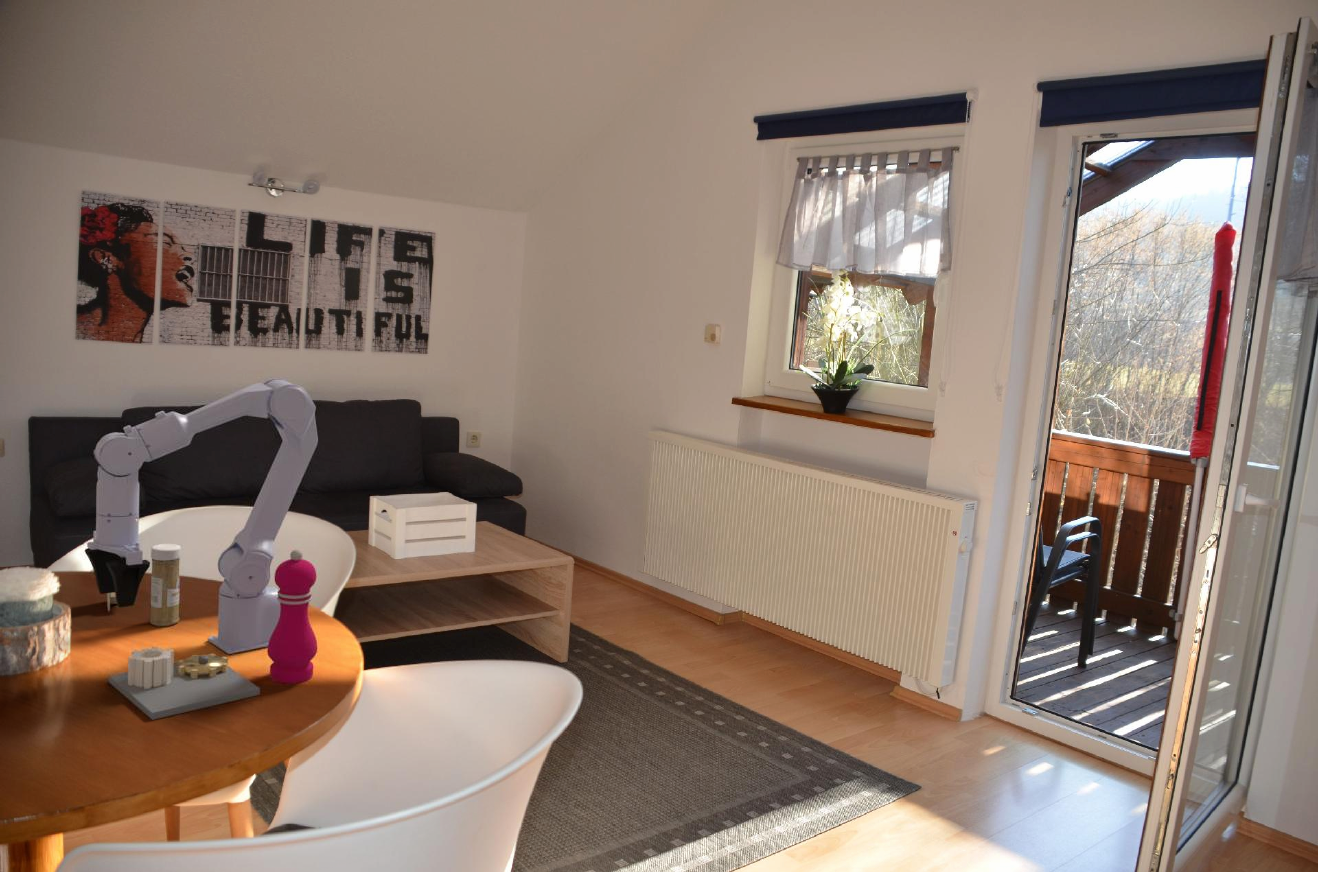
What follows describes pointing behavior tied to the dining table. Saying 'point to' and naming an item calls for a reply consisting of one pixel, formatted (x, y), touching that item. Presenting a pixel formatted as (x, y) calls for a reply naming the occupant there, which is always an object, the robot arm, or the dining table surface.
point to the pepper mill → (293, 622)
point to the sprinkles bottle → (165, 584)
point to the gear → (150, 667)
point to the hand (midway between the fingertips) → (116, 599)
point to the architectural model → (111, 599)
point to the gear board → (189, 687)
